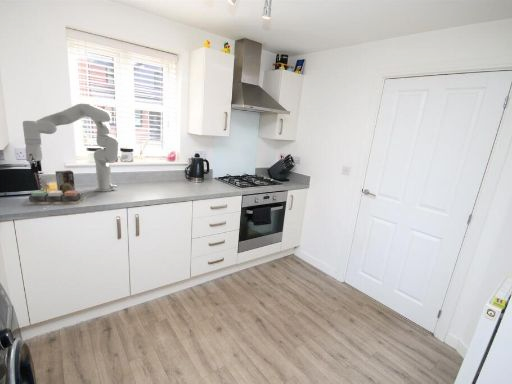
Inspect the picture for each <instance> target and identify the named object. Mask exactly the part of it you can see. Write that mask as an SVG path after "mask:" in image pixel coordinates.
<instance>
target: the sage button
mask: <svg viewBox="0 0 512 384" xmlns="http://www.w3.org/2000/svg"><path fill="white" fill-rule="evenodd" d="M47 193H48V192H47V190H34V191H32V192H31V194H30V195H32V196H45V195H46V194H47Z"/></svg>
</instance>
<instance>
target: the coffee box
mask: <svg viewBox="0 0 512 384" xmlns="http://www.w3.org/2000/svg"><path fill="white" fill-rule="evenodd" d="M55 179H56V188H57V190H56V191H62V192H63V193H65V192H66V191H76V188H75V187H76V186H75V177H74V171H72V170H58V171H57V170H56V171H55Z"/></svg>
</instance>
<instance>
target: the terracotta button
mask: <svg viewBox="0 0 512 384" xmlns="http://www.w3.org/2000/svg"><path fill="white" fill-rule="evenodd" d="M78 193H79V191H78V190H75V191H66V192H65V193H64V195H65V196H76V195H77V194H78Z"/></svg>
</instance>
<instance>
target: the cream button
mask: <svg viewBox="0 0 512 384" xmlns="http://www.w3.org/2000/svg"><path fill="white" fill-rule="evenodd" d="M47 193H48V196H61V195H62V194H63V192H62V191H58V190H50V191H49V192H47Z"/></svg>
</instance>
